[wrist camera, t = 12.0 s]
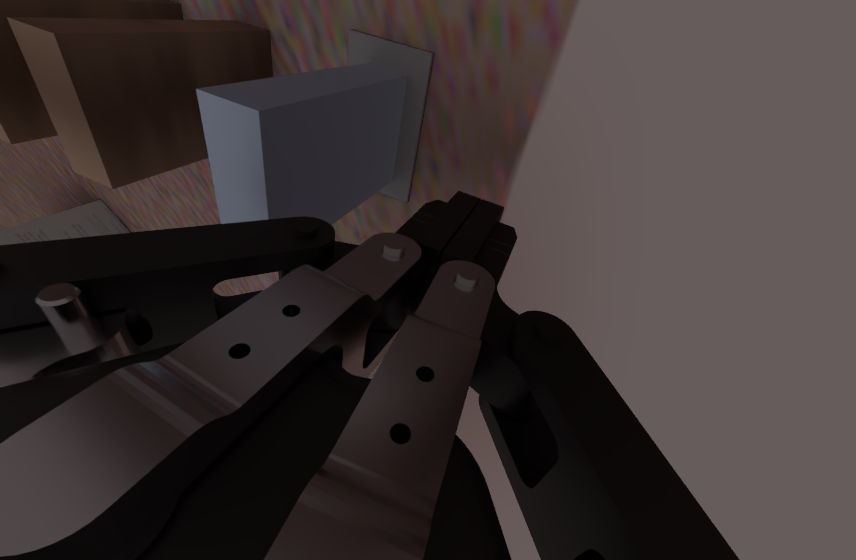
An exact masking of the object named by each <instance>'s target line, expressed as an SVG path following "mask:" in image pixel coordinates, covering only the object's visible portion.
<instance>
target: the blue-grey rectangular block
mask: <svg viewBox="0 0 856 560" xmlns="http://www.w3.org/2000/svg"><path fill="white" fill-rule="evenodd" d="M407 76H408V75H405V74H401V73H398V72H395V71H392V70H388V69H385V68H382V67H379V66H375V65H372V64H369V63H365V64H359V65H352V66H345V67H338V68H332V69H325V70H318V71H312V72H305V73H298V74H291V75H285V76H278V77H271V78H265V79H258V80H251V81H245V82H238V83H231V84H224V85H218V86H211V87H204V88H198V89H196V92H197V98H198V103H199V108H200V114H201V119H202V124H203V130H204V135H205V140H206V146H207V151H208V156H209V162H210V167H211V173H212V178H213V183H214V189H215V194H216V199H217V205H218V210H219V215H220V221H221V224H226V223H236V222H247V221H257V220H268V219H278V218H288V217H299V216H308V217H315V218H319V219H322V220H324V221H326V222H328V223H329V224H330V225H332V224H333V223H335V222H336V221H337V220H339V219H340V218H342V217H343V216H344V215H346V214H347V213H349V212H350V211H351V210H353V209H354V208H356V207H357V206H358V205H360V204H361V203H363V202H364V201H365V200H367V199H368V198H369V197H371V196H372V195H374V194H375V193H376V192H378V191H379V190H381V189H382V188H383V187H385V186H386V185H388V184H389V183H390V182H392V181H393V175H394V168H395V161H396V154H397V147H398V139H399V132H400V125H401V118H402V111H403V104H404V97H405V90H406V83H407Z"/></svg>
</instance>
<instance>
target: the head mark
mask: <svg viewBox="0 0 856 560" xmlns="http://www.w3.org/2000/svg"><path fill="white" fill-rule="evenodd" d="M433 57H434V53H432V52H428V51H425V50H421V49H418V48H414V47H411V46H407V45H404V44H400V43H397V42H393V41H390V40H386V39H383V38H379V37H376V36H372V35H369V34H365V33H362V32H358V31H355V30H349V42H348V64H347V66H352V65H359V64H365V63H369V64H372V65H375V66H379V67H382V68H385V69H388V70H392V71H395V72H398V73H401V74H405V75H408V76H407V83H406V90H405V97H404V104H403V111H402V118H401V125H400V132H399V139H398V147H397V154H396V161H395V168H394V175H393V181H392V182H390V183H389V184H388V185H386V186H385V187H383V188H382V189H381V190H379V191H378V193H381V194H384V195H386V196H389V197H392V198H394V199H397V200H400V201H402V202H405V203H408V201H409V195H410V189H411V183H412V177H413V172H414V166H415V160H416V154H417V149H418V143H419V137H420V131H421V126H422V120H423V114H424V108H425V103H426V97H427V91H428V85H429V80H430V74H431V68H432V62H433Z"/></svg>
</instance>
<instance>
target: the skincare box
mask: <svg viewBox="0 0 856 560" xmlns="http://www.w3.org/2000/svg"><path fill="white" fill-rule="evenodd" d="M122 233H130V232H129V230H128V229H127V228H126V227H125V226H124V225H123V224H122V222H121V221H120V220H119V219H118V218H117V217H116V215H115V214H114V213H113V212H112V211H111V210H110V209H109V208H108V207H107V206H106V204H105V203H104V202H103V201H102V200H97V201H94V202H91V203H88V204H84V205H81V206H78V207H75V208H71V209H68V210H65V211H62V212H58V213H55V214H52V215H48V216H45V217H42V218H39V219H35V220H32V221H29V222H25V223H22V224H19V225H16V226H12V227H9V228H6V229H2V230H0V245H8V244H18V243H29V242H39V241H50V240H60V239H70V238H81V237H91V236H101V235H112V234H122Z"/></svg>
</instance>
